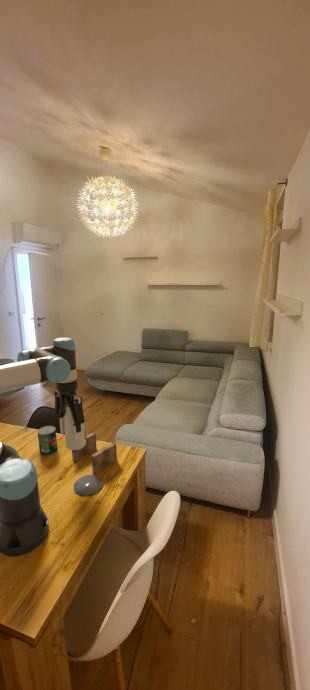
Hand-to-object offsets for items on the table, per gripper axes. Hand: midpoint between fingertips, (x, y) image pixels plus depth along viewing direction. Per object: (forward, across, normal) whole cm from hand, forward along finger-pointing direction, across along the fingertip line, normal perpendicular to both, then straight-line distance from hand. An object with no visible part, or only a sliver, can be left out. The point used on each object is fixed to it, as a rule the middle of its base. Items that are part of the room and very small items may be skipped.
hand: (70, 435), depth 114 cm
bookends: (+19, +3, -13) cm, 23 cm away
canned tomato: (+19, +25, -5) cm, 32 cm away
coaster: (+19, -8, -1) cm, 21 cm away
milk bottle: (+5, 0, -2) cm, 6 cm away
